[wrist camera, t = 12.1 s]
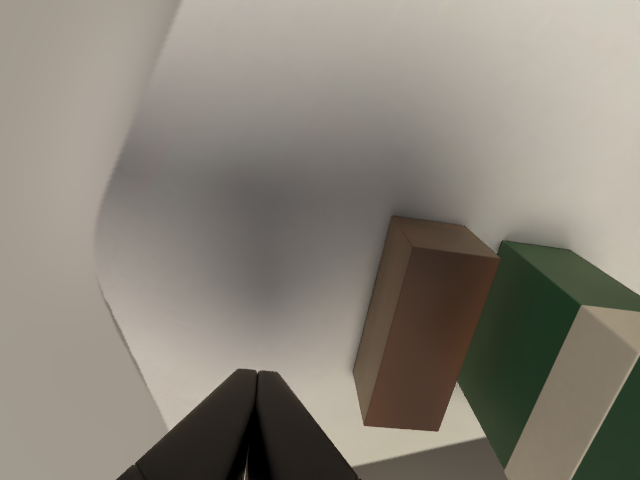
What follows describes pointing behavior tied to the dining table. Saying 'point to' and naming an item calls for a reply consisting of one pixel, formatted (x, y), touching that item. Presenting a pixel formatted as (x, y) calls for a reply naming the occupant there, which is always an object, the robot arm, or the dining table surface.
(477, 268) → the block
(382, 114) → the dining table surface
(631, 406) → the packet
